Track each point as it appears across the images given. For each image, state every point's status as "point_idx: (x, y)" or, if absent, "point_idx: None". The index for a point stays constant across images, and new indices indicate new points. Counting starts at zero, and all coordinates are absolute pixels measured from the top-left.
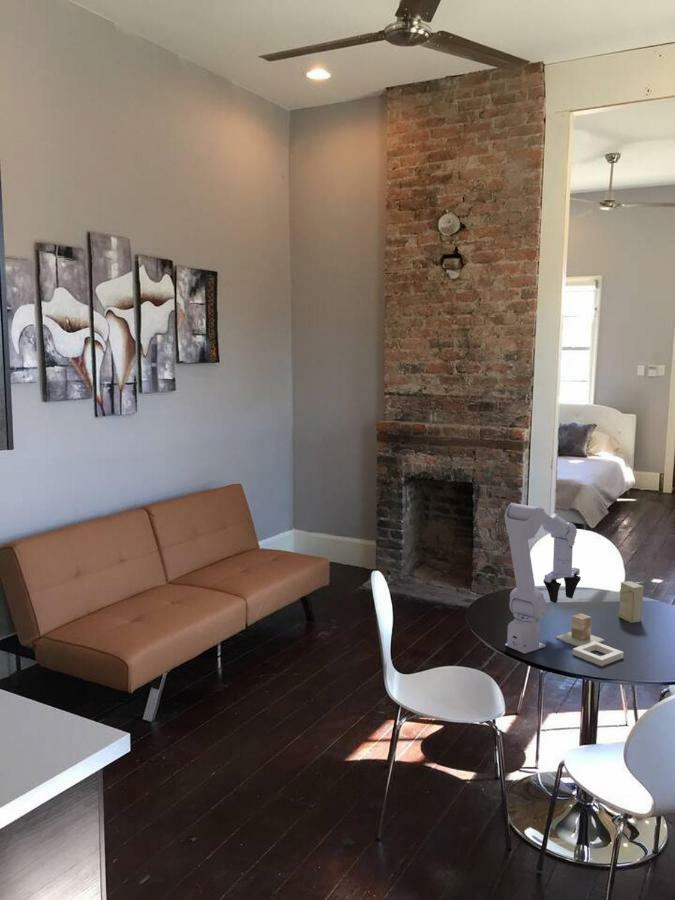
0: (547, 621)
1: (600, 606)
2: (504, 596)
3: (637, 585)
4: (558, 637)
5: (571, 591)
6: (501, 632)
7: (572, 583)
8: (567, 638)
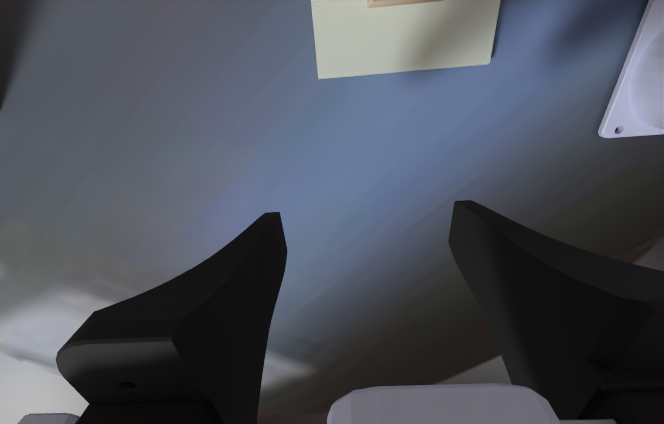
0: (343, 229)
1: (35, 239)
2: (300, 398)
3: None
4: (491, 48)
5: (265, 248)
6: (583, 233)
7: (235, 307)
8: (472, 1)
